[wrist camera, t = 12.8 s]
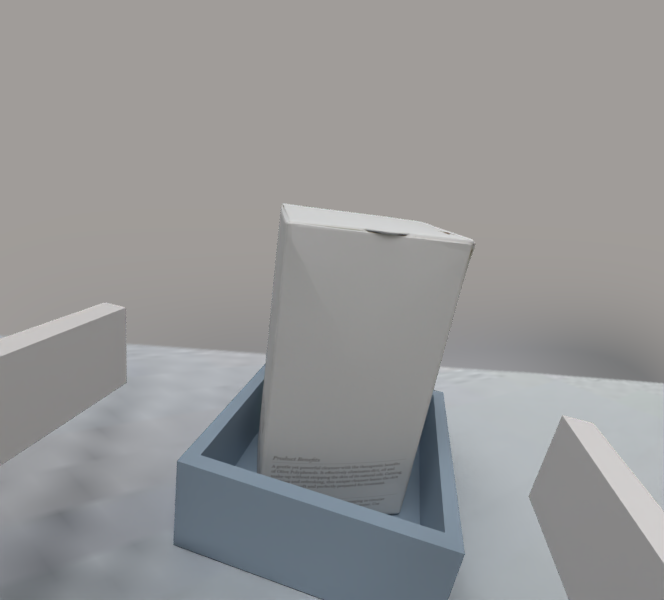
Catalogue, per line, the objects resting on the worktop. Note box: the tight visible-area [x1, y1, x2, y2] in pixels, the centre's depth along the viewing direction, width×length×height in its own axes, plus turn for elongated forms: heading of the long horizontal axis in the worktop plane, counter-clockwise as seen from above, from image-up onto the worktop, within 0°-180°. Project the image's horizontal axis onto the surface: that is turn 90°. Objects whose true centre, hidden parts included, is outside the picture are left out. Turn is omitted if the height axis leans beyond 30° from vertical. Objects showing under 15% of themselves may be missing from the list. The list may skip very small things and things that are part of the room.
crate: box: [174, 363, 465, 600], centre depth 22 cm, size 12×12×5 cm
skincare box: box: [257, 203, 476, 514], centre depth 20 cm, size 8×7×16 cm
